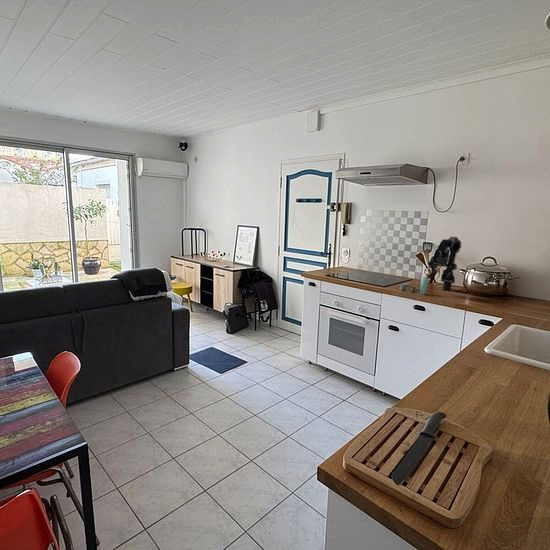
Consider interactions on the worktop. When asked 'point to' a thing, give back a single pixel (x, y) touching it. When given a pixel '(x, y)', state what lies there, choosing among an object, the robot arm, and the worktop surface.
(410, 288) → the block
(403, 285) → the backstop
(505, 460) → the worktop surface
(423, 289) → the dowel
